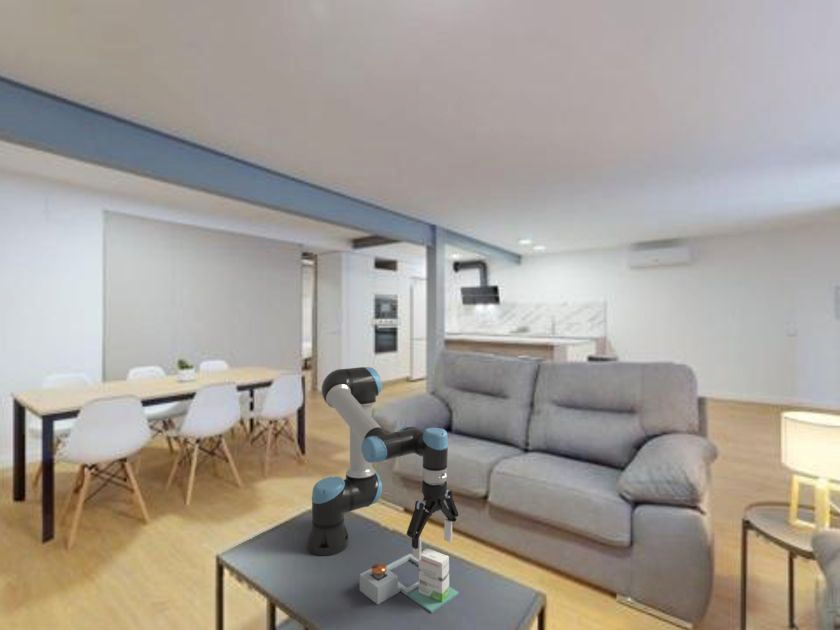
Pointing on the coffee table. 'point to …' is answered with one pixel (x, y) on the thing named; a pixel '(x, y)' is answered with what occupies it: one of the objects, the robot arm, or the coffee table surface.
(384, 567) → the plunger
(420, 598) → the mat
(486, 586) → the coffee table surface
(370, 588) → the housing
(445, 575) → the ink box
